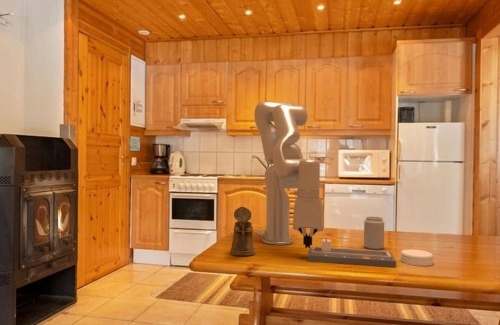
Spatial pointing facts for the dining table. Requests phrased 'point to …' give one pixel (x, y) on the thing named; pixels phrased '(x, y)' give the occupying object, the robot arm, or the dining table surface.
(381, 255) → the dark grey tray
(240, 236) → the brown bell figurine
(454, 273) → the dining table surface
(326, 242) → the cap
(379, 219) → the can
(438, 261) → the dining table surface
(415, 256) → the white cheese wheel
